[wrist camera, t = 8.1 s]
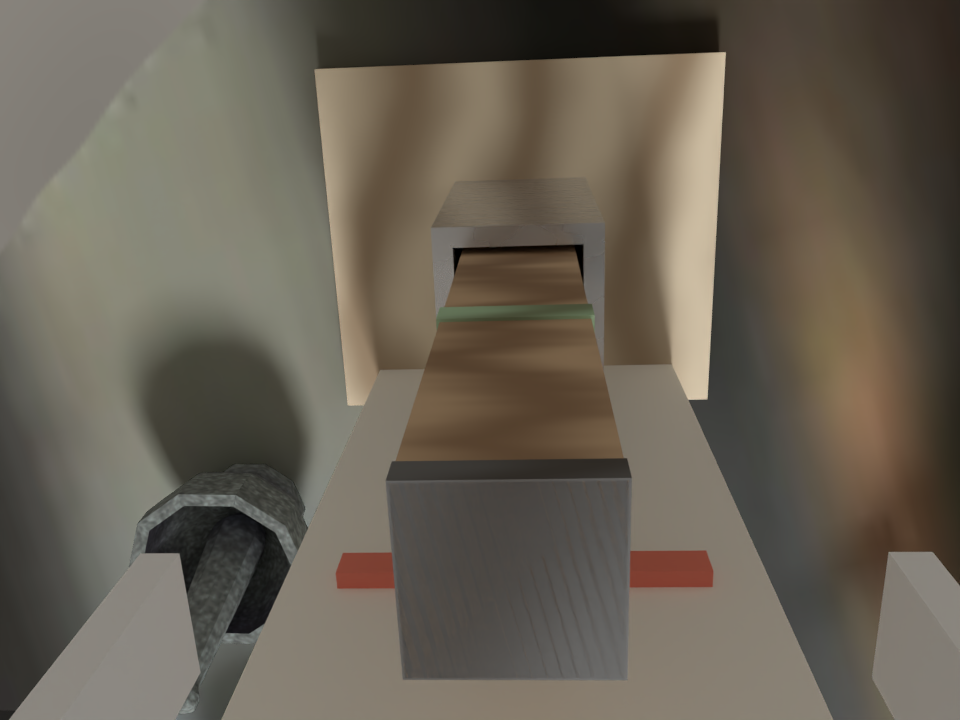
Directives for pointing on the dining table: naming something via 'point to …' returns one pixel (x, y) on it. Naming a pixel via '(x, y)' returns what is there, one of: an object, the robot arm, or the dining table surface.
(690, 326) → the birch base plate
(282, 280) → the dining table surface
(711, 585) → the board
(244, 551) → the mortar and pestle
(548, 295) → the oak post
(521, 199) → the metal sleeve
